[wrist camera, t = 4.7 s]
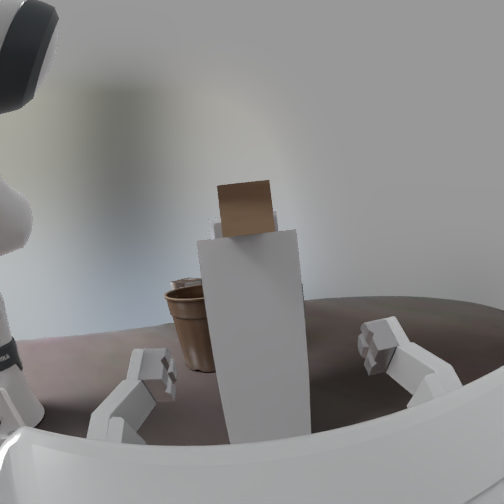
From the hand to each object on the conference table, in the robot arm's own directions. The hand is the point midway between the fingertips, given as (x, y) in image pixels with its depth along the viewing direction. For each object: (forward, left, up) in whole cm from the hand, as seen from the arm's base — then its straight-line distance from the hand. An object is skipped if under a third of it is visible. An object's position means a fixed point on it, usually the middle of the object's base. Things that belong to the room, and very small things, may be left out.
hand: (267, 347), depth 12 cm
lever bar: (+16, +13, +5) cm, 21 cm away
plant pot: (+32, +39, -22) cm, 55 cm away
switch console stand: (+20, +17, -21) cm, 34 cm away
